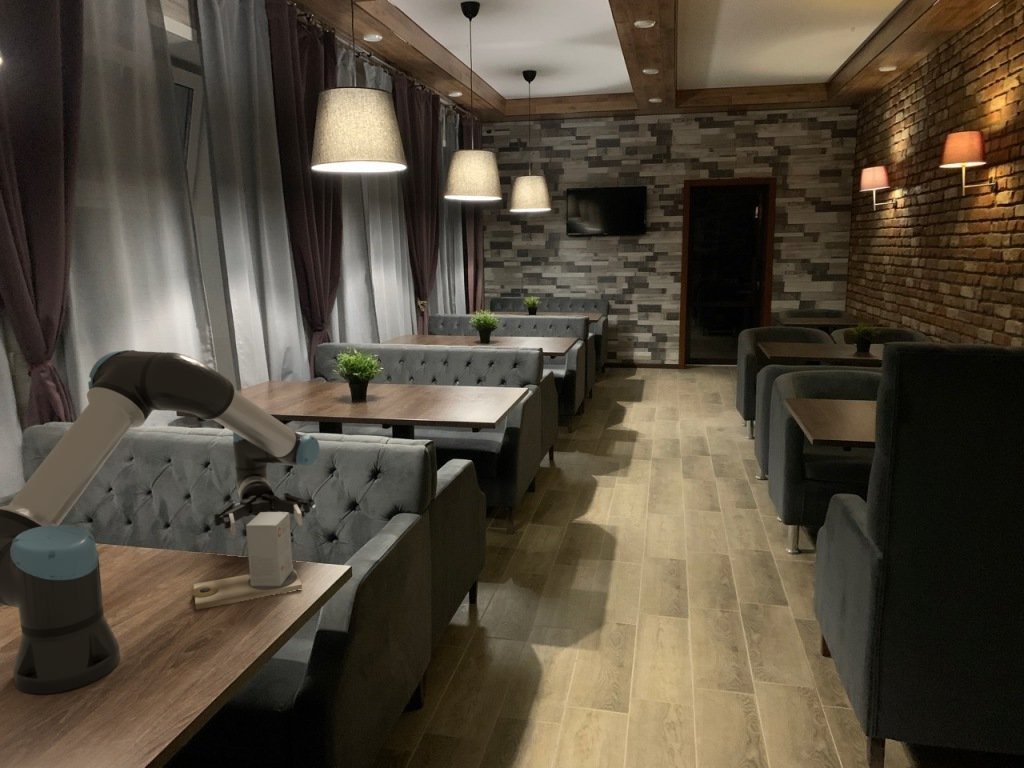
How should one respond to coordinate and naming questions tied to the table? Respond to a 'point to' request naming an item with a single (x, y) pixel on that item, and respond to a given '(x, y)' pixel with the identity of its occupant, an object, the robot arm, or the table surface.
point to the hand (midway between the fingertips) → (267, 524)
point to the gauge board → (238, 590)
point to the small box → (269, 548)
